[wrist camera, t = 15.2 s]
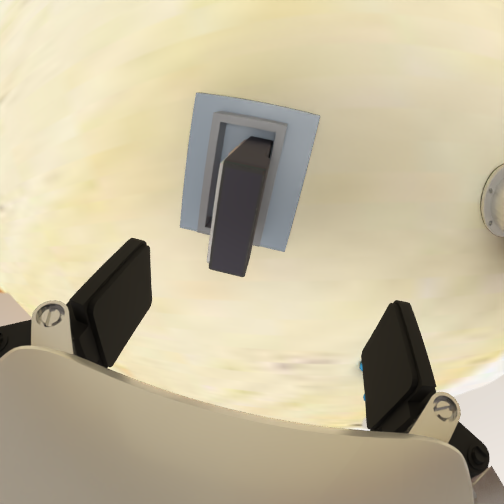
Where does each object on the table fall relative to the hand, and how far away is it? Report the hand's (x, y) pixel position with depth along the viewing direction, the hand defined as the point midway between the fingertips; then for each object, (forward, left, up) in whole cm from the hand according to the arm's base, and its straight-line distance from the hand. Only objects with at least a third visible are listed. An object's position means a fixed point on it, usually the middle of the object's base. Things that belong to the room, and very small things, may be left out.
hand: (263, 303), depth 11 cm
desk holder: (+5, +4, -30) cm, 31 cm away
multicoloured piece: (+4, +4, -30) cm, 30 cm away
